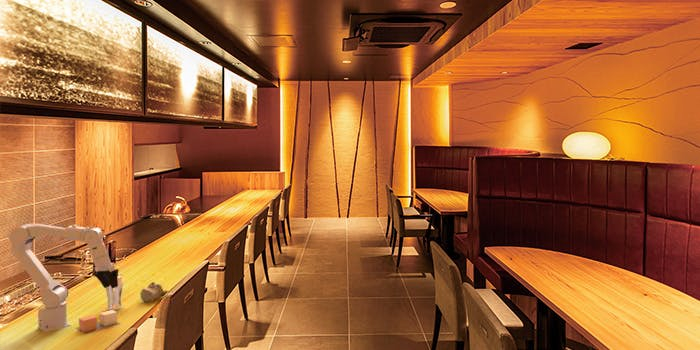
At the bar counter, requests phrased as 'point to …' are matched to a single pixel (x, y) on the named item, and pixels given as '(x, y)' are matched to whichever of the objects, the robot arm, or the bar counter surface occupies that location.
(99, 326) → the baseplate
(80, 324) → the terracotta block
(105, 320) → the cream block
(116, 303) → the beer glass
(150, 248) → the bar counter surface
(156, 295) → the ceramic sculpture
